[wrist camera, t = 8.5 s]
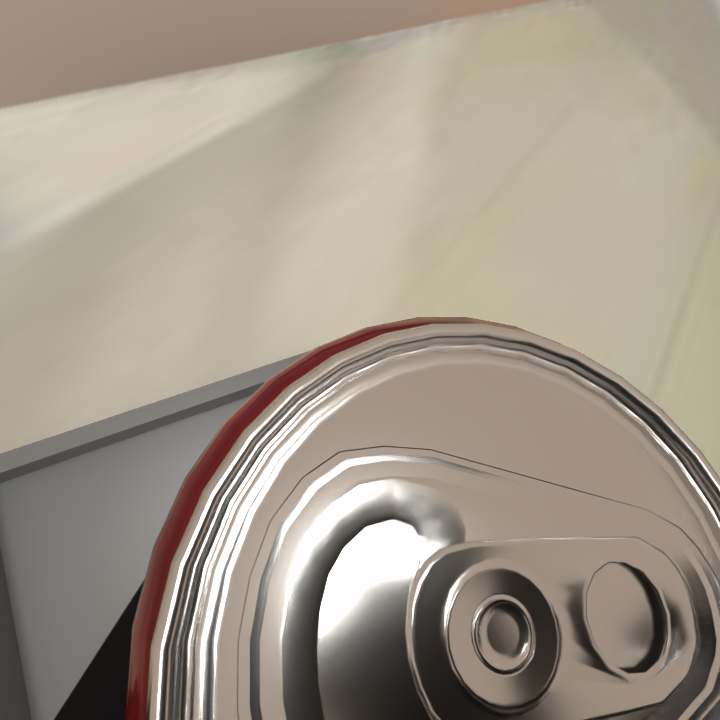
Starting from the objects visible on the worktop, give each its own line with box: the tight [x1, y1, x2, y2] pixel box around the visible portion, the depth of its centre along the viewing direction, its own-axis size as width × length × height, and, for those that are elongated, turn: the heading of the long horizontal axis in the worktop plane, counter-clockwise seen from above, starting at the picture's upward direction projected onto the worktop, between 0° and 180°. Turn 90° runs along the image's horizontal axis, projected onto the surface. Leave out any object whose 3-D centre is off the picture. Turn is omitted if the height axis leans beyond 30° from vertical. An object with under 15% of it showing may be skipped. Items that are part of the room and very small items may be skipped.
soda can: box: [124, 317, 720, 720], centre depth 9 cm, size 7×7×12 cm
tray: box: [0, 351, 310, 720], centre depth 18 cm, size 18×18×2 cm
